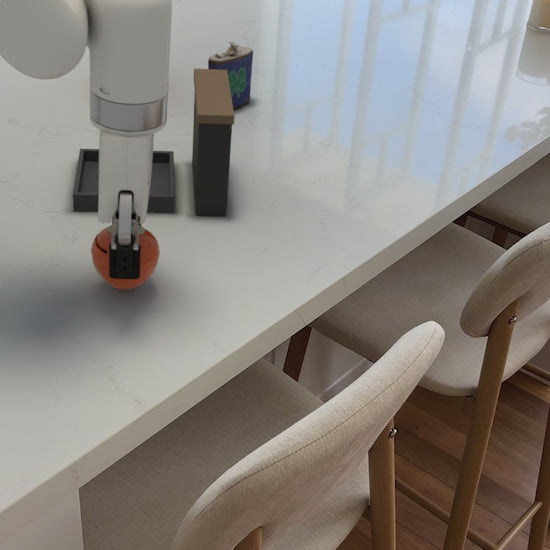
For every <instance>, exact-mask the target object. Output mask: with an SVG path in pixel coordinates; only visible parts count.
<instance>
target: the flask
mask: <svg viewBox="0 0 550 550" xmlns="http://www.w3.org/2000/svg"><path fill="white" fill-rule="evenodd" d="M228 43H229V45H230V46H229V47H228V48H227V49H226V51H225V52H221V53H218V52H215V54H213V55H210V56H209V57H208V60H207V65H208V66H207V67H208V68H207V69H216V70H227V73H228V79H229V85H230V91H231V98H232V104H233V110H234V111H236V110H239V109H241V108H243V107H245V106H248V104H249V103H250V101H251V90H252V89H251V87H252V74H253V73H252V72H253V58H254V49H253V48H252V47H248V46H241V44H240V45H239V44H237V43H235V42H234V41H228Z"/></svg>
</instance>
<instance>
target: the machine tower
mask: <svg viewBox="0 0 550 550" xmlns="http://www.w3.org/2000/svg"><path fill="white" fill-rule="evenodd" d="M193 84H194V85H193V86H194V87H193V88H194V98H193V99H194V100H193V101H194V102H193V126H192V127H193V129H192V153H191V155H192V156H191V166H192V167H191V168H192V169H191V170H192V186H193V202H194V203H193V204H194V216H196V217H227V213H228V211H227V210H228V195H229V179H230V163H231V149H232V147H231V146H232V135H233V134H232V131H233V125H234V124H235V112H234V110H233V104H232V98H231V91H230V85H229V79H228V73H227V70H216V69H208V68H193Z"/></svg>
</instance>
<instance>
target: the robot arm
mask: <svg viewBox="0 0 550 550" xmlns="http://www.w3.org/2000/svg"><path fill="white" fill-rule="evenodd" d="M172 1H173V0H0V57H1V58H2V59H3V60H4V61H5V62H6V63H7V64H8V65H10V66H11V67H12V68H13V69H14V70H16V71H18V72H19V73H21V74H23V75H24V76H27V77H30V78H32V79H37V80H55V79H59V78H62V77H63V76H66V75H68V74H69V73H70V72H72V71H73V70H74V69H75V68H76V67H77V66H78V65H79V64H80V62H81V61H82V59H83V57H84V55H85V53H86V50H87V49H86V48H88V50H89V51H88V52H89V121H90V122H91V124H92V126H94V127H95V128H96V129H98V130H99V142H98V149H99V202H98V211H97V220H98V221H99V223H101V224H103V225H104V224H105V223H107V224H110V223H111V225H112V242H111V244H109V277H110V278H112V279H139V278H140V256H141V245H138V242H139V226H141V227H142V225H143V224H144V223H145V222H146V220H147V213H148V212H147V207H148V200H149V193H150V184H151V173H152V159H153V151H154V138H155V134H156V133H158V132H160V131H162V130H163V129H164V128H165V127H166V125H167V121H168V120H167V119H168V118H167V117H168V100H169V99H168V98H169V97H168V96H169V76H170V59H171V58H170V56H171V38H172V36H171V35H172V31H171V30H172V16H173V15H172V14H173V2H172ZM117 225H119V229H118V234H117ZM131 225H134V236H133V234H131Z"/></svg>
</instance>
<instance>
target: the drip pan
mask: <svg viewBox="0 0 550 550" xmlns="http://www.w3.org/2000/svg"><path fill="white" fill-rule="evenodd" d="M174 153H175V152H174V151H173V150H153V159H152V173H151V184H150V193H149V200H148V207H147V213H160V214H161V213H167V214H174V213H175V210H176V209H175V208H176V207H175V206H176V205H175V203H176V202H175V201H176V193H175V191H176V190H175V189H176V188H175V158H174V157H175V156H174V155H175V154H174ZM74 177H75V179H74V184H73V189H72V205H73V206H72V208H73V212H98V202H99V148H80V149H79V153H78V160H77V166H76V172H75V176H74Z"/></svg>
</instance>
